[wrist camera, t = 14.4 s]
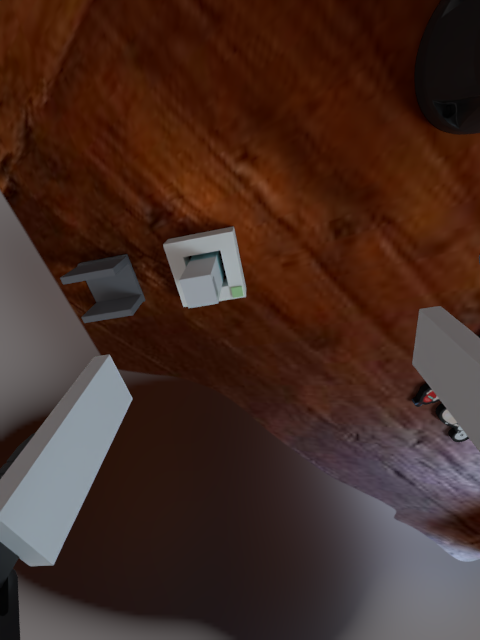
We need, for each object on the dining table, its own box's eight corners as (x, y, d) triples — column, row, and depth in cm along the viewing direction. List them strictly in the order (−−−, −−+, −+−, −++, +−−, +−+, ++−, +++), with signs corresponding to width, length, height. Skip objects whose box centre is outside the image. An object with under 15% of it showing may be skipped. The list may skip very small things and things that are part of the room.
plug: (192, 254, 44) (178, 280, 35) (218, 250, 43) (210, 274, 35) (199, 278, 46) (187, 308, 37) (224, 274, 45) (218, 303, 37)
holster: (79, 263, 45) (59, 276, 40) (126, 253, 44) (111, 266, 39) (101, 307, 49) (85, 324, 44) (145, 299, 48) (133, 316, 43)
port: (168, 239, 43) (162, 245, 40) (233, 226, 42) (232, 231, 39) (187, 298, 48) (183, 307, 45) (246, 288, 46) (245, 297, 44)
